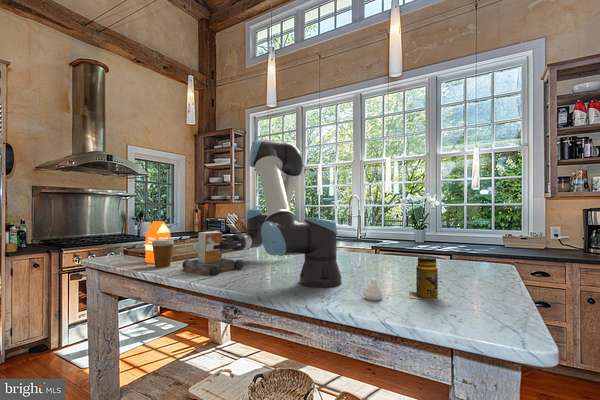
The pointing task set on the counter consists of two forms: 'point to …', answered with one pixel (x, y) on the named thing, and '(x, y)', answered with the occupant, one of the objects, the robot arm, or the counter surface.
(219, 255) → the small box
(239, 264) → the dark square tray
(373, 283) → the garlic bulb
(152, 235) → the orange juice
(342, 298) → the counter surface
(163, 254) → the disposable coffee cup
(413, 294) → the condiment
